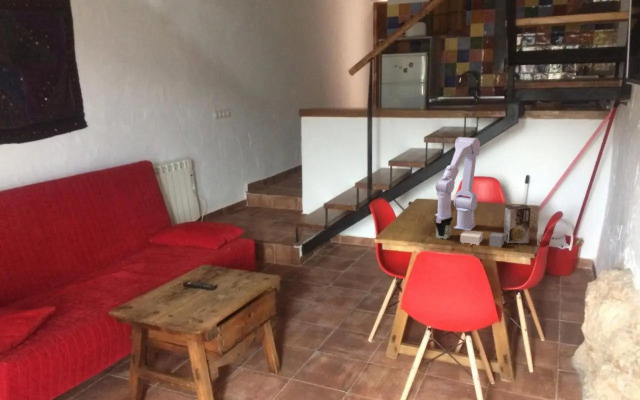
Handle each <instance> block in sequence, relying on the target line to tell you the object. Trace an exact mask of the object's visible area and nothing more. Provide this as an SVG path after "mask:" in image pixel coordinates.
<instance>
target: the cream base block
mask: <svg viewBox="0 0 640 400" xmlns="http://www.w3.org/2000/svg"><path fill="white" fill-rule="evenodd" d="M483 235H484V232H483V231H475V230H463V231H462V233H461V234H460V235H459V236H460V237H459V238H460V239H459V243H460V242H461V243H460V244H464V243H470V244H469V245H472V244H476V245H475V246H479V245H480V244H481V243H482V241H483V238H484V237H483ZM480 242H481V243H480Z"/></svg>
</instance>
